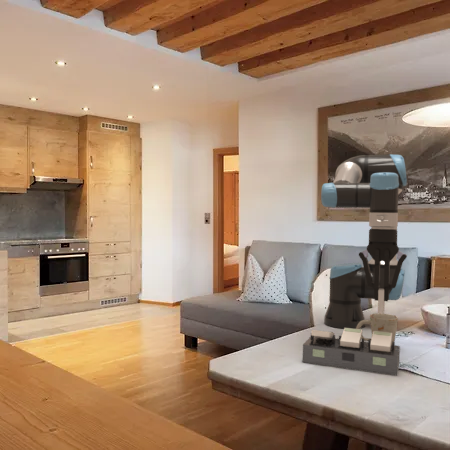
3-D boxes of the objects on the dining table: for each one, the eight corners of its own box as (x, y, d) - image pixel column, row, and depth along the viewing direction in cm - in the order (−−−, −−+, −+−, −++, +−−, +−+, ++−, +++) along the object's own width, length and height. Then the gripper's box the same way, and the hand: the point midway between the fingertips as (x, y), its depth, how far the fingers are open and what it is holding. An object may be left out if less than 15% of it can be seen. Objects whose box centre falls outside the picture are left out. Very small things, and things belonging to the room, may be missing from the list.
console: (311, 351, 140) (311, 328, 140) (399, 363, 130) (399, 338, 130) (302, 362, 130) (302, 337, 130) (397, 376, 120) (397, 348, 120)
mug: (399, 352, 141) (400, 319, 141) (356, 349, 144) (357, 317, 144) (394, 345, 150) (395, 314, 149) (354, 342, 152) (355, 311, 152)
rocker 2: (344, 332, 135) (344, 327, 134) (362, 334, 133) (362, 329, 133) (340, 345, 128) (340, 340, 127) (358, 348, 126) (358, 342, 125)
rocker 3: (373, 335, 132) (373, 330, 131) (392, 337, 130) (392, 332, 129) (370, 349, 125) (370, 343, 124) (390, 351, 123) (390, 346, 122)
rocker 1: (316, 336, 138) (317, 330, 138) (333, 338, 136) (334, 332, 136) (311, 335, 131) (311, 329, 131) (329, 337, 129) (329, 331, 129)
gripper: (357, 227, 128) (355, 312, 129) (407, 229, 123) (405, 317, 124) (360, 227, 135) (359, 307, 136) (408, 228, 130) (406, 312, 130)
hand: (381, 312), depth 130 cm, fingers closed
